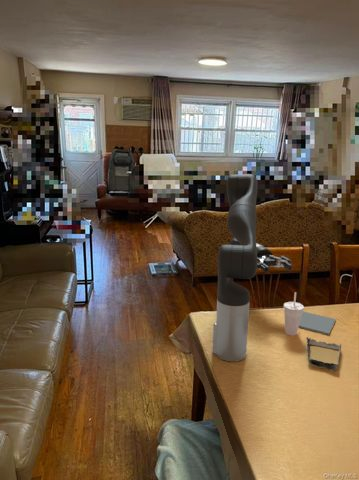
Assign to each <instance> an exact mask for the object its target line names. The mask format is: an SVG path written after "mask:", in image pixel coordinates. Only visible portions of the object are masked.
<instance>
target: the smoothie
mask: <svg viewBox="0 0 359 480" xmlns="http://www.w3.org/2000/svg"><path fill="white" fill-rule="evenodd" d="M296 300H297V292H294V295H293V301H288V302H287V301H286V302H284V303H283V308H282V309H284V329H285V330H284V332H285V334H287V335H289V336H296V335H298V331H299V323H300V319H301V315H302V312H303V311H304V312H305V307H304V305H303V304H302V303H300V302H296Z"/></svg>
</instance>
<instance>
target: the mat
mask: <svg viewBox="0 0 359 480" xmlns="http://www.w3.org/2000/svg"><path fill="white" fill-rule="evenodd" d="M336 320H337V319H336V318H333V317H330V316H329V317H328V316H325V315H320V314H316V313H311V312H308V311H305V310H304V311H303V312H302V315H301V319H300V323H299V327H300V328H299V327H298V328H299V329H304V330H309V331H310V332H311V331H312V332H314V333H315V332H316V333H319V334H324V335H326V336H330V334H331V332H332V330H333V327H334V325H335V322H336Z"/></svg>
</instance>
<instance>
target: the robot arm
mask: <svg viewBox="0 0 359 480" xmlns="http://www.w3.org/2000/svg"><path fill="white" fill-rule="evenodd" d="M258 186H259V185H258V179H257V176H255V175H254V174H251V173H243V174H242V173H241V174H240V173H239V174H230V175H229V176H228V177H227V179H226V195H227V200H228V205H229V209H228V212H227V219H226V227H227V229H228V231H229V233H230V234H231V235H232V237H233V238H231V240H230V241H229V244H222V245H220V247H219V249H218V252H217V294H216V295H217V296H216V297H217V298H216V318H215V319H216V321H215V322H214V323H213V326H212V352H211V353H212V354H214V355H216V356H217V357H218V358H219V359H220V360H224V361H227V362H239V361H242V360H244V359H245V358H246V356H247V350H248V347H247V346H248V335H249V334H248V332H249V318H250V317H249V315H250V301H251V300H250V298H251V293H250V291H249V290H248V288H247V287H245V286H243V285H241V284H238V283H236V282H235V281H233V280H232V279H240V280H241V279H243V280H249V279H253V278H254V277H255V276H256V274H257V270H258V269H259V270H260V271H263V272H264V273H266V274H267V273H269V270H270V267H274V268H283V269H285V270H286V271H288V272H291V271H292V268H293V266H292V264H291V262H292V260H291V259H290V258H288V257H286V256H285V255H280V256H279V257H278V256H275V255H274V254H273V252H272V251H271V250H270V249H268V248H267V247H265V246H264V245H262V244H259V243H258V242H257V237H256V235H257V224H258V223H257V222H258V221H257V219H258V216H257V197H258Z"/></svg>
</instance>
